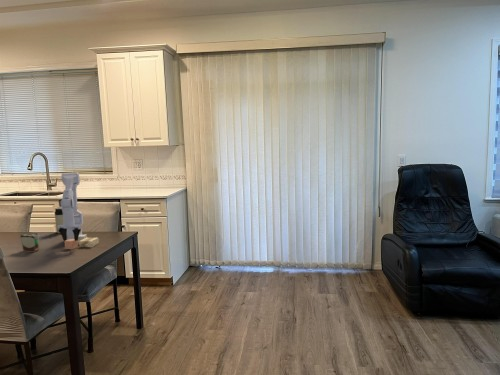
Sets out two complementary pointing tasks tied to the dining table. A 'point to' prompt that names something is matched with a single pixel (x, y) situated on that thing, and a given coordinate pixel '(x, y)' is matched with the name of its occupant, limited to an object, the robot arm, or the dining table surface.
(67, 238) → the robot arm
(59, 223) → the travel mug
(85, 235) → the off-white cube
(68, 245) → the terracotta cube
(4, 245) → the dining table surface
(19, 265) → the dining table surface
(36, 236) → the food container
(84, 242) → the maple block
